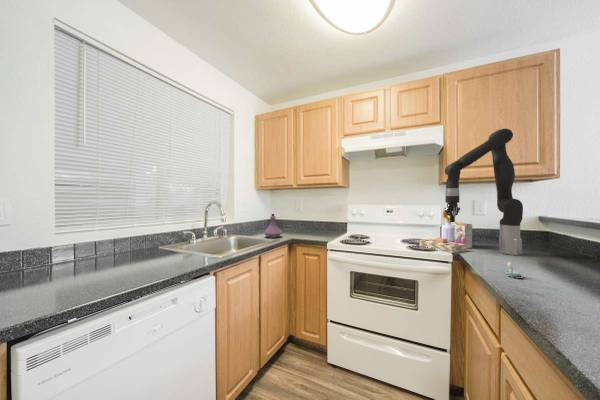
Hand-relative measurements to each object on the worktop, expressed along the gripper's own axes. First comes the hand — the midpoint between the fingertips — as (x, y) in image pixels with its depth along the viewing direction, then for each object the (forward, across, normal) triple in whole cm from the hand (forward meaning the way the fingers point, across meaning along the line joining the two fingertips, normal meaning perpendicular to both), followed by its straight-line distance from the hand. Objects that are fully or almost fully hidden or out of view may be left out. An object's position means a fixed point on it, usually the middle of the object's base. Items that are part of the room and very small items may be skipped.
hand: (452, 222), depth 145 cm
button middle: (+14, -2, +6) cm, 16 cm away
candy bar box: (+18, +16, +3) cm, 25 cm away
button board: (+18, -2, +6) cm, 19 cm away
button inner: (+17, -2, -1) cm, 17 cm away
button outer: (+16, -1, +13) cm, 21 cm away
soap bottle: (+18, +31, +22) cm, 42 cm away
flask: (+17, -90, +95) cm, 133 cm away
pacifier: (+18, -26, -42) cm, 52 cm away
